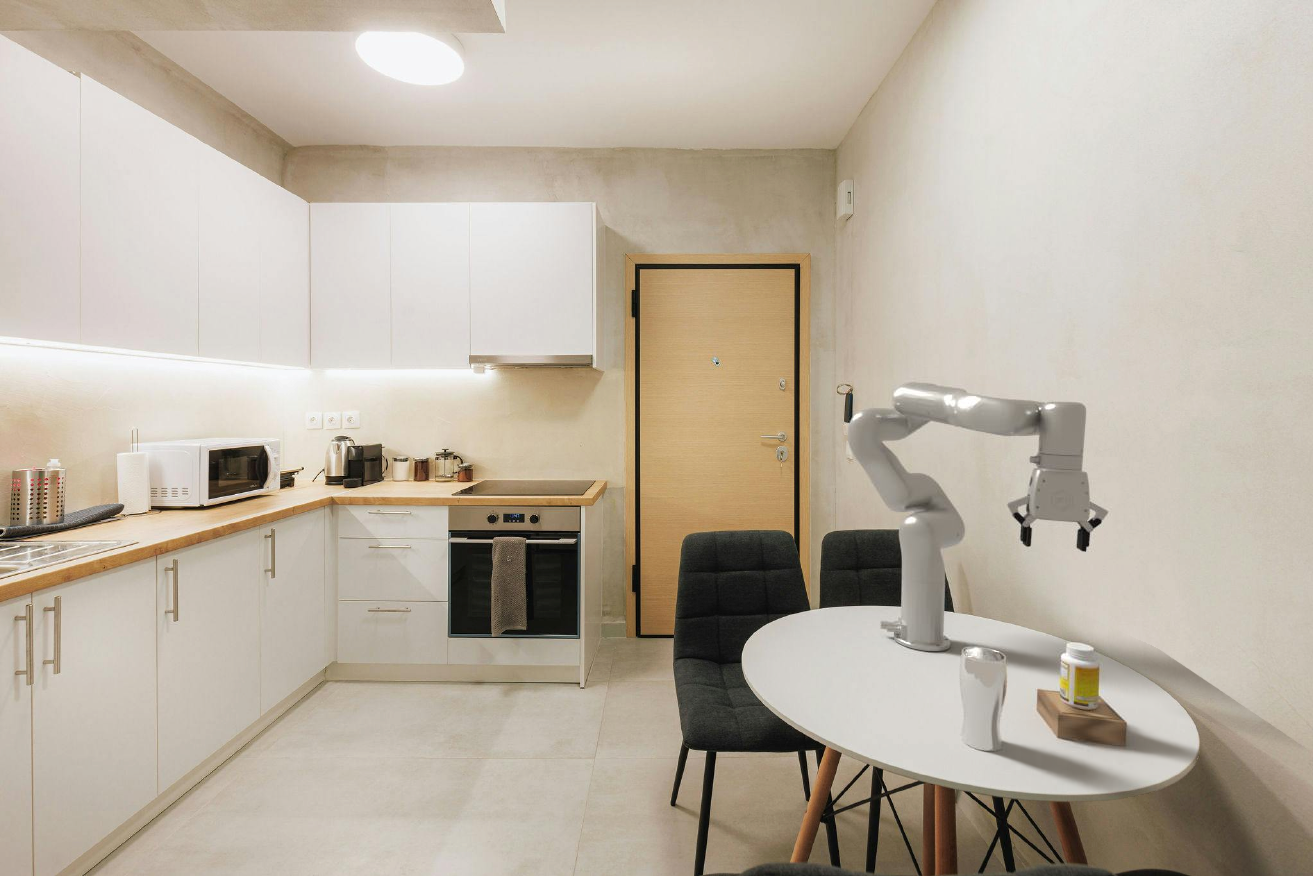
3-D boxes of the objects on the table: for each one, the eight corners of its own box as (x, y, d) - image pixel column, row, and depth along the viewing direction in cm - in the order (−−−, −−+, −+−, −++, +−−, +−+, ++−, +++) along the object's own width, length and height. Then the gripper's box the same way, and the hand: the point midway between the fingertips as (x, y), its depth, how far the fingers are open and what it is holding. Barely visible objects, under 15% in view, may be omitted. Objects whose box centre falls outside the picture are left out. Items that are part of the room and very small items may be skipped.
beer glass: (949, 731, 105) (951, 646, 104) (987, 730, 105) (990, 645, 105) (973, 754, 98) (976, 662, 97) (1014, 752, 98) (1017, 661, 98)
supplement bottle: (1105, 707, 105) (1107, 649, 105) (1086, 714, 103) (1088, 654, 102) (1071, 693, 110) (1073, 638, 110) (1052, 700, 108) (1054, 643, 107)
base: (1057, 737, 103) (1058, 713, 103) (1036, 710, 113) (1037, 688, 112) (1125, 746, 100) (1126, 721, 100) (1098, 717, 110) (1099, 695, 110)
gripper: (1016, 462, 120) (1010, 547, 121) (1118, 467, 115) (1111, 556, 116) (1006, 459, 127) (1000, 539, 128) (1102, 464, 122) (1096, 547, 123)
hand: (1053, 547), depth 122 cm, fingers open, 9 cm apart
